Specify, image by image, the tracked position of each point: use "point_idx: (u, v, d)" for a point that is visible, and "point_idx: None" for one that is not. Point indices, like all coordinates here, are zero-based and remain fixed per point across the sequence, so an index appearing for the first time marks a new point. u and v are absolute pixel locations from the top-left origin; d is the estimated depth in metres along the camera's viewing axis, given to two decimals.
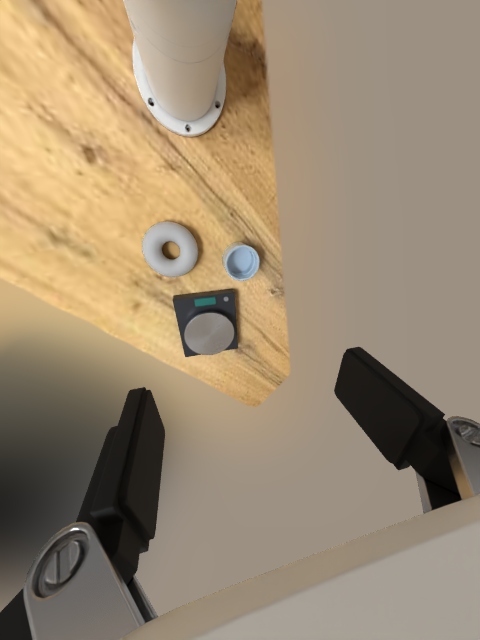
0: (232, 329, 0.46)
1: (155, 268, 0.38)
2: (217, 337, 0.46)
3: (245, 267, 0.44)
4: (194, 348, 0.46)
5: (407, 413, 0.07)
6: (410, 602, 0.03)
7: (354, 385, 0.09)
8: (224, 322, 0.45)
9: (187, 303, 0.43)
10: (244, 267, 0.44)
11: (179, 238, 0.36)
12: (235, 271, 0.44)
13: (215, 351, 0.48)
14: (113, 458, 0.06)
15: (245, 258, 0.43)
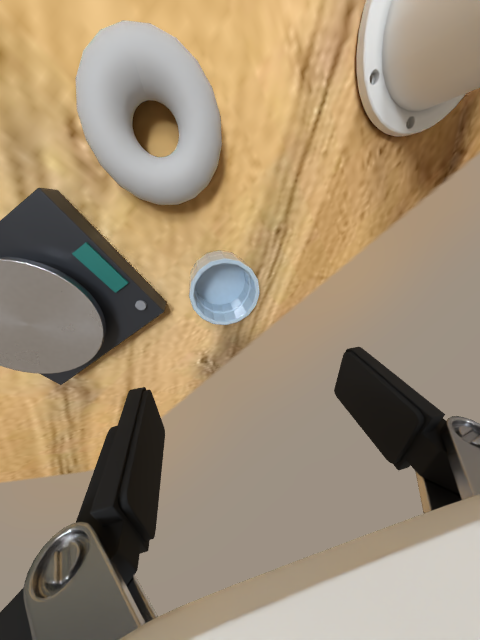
0: (88, 356, 0.20)
1: (82, 91, 0.13)
2: (39, 341, 0.18)
3: (215, 300, 0.24)
4: None
5: (407, 413, 0.07)
6: (410, 602, 0.03)
7: (354, 385, 0.09)
8: (89, 334, 0.19)
9: (63, 231, 0.17)
10: (214, 299, 0.24)
11: (197, 133, 0.15)
12: (198, 289, 0.23)
13: (2, 359, 0.18)
14: (113, 458, 0.06)
15: (228, 291, 0.24)
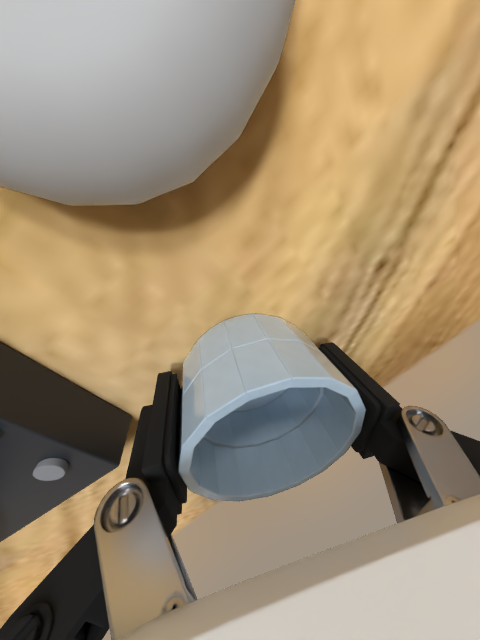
0: None
1: None
2: None
3: None
4: None
5: (367, 403, 0.07)
6: (410, 602, 0.03)
7: None
8: None
9: None
10: None
11: None
12: None
13: None
14: (153, 428, 0.07)
15: None
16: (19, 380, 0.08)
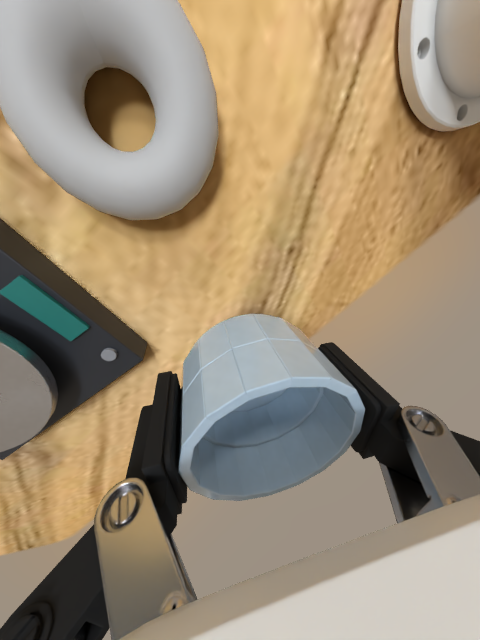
0: (32, 431, 0.14)
1: None
2: None
3: None
4: None
5: (367, 403, 0.07)
6: (410, 602, 0.03)
7: None
8: (30, 403, 0.13)
9: None
10: None
11: (181, 115, 0.10)
12: None
13: None
14: (153, 428, 0.07)
15: None
16: (94, 307, 0.15)
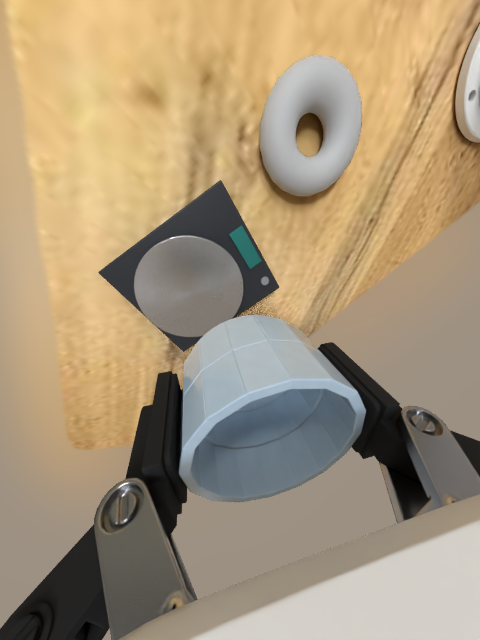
0: None
1: (277, 106, 0.17)
2: (193, 308, 0.22)
3: None
4: (142, 279, 0.20)
5: (367, 403, 0.07)
6: (410, 602, 0.03)
7: None
8: (231, 302, 0.23)
9: (227, 215, 0.21)
10: None
11: (347, 139, 0.19)
12: None
13: (162, 322, 0.22)
14: (153, 428, 0.07)
15: None
16: None
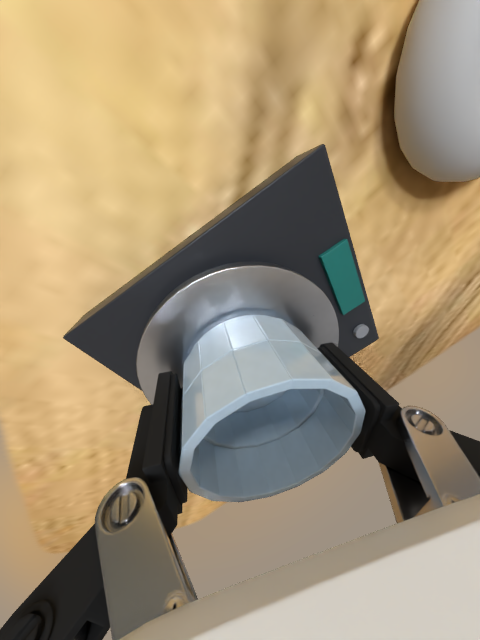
0: None
1: None
2: None
3: None
4: (154, 353, 0.09)
5: (366, 403, 0.07)
6: (410, 602, 0.03)
7: None
8: None
9: (322, 220, 0.10)
10: None
11: None
12: None
13: None
14: (154, 428, 0.07)
15: None
16: None
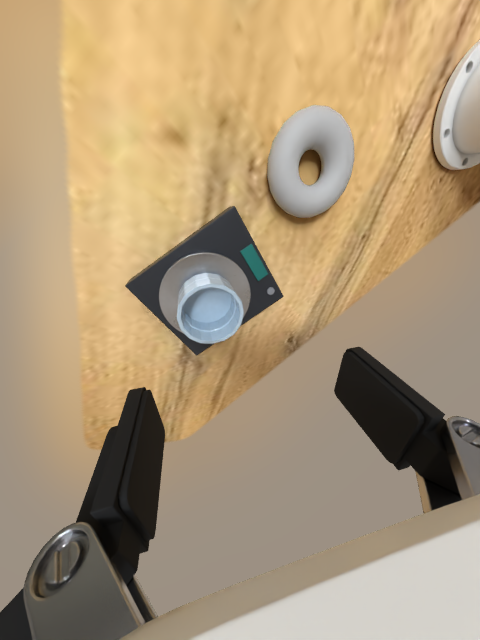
0: None
1: (283, 146, 0.20)
2: None
3: (203, 319, 0.25)
4: (166, 288, 0.23)
5: (407, 413, 0.07)
6: (410, 602, 0.03)
7: (354, 385, 0.09)
8: None
9: (239, 235, 0.23)
10: (201, 317, 0.25)
11: (342, 171, 0.22)
12: (186, 309, 0.24)
13: None
14: (113, 458, 0.06)
15: (215, 310, 0.25)
16: None
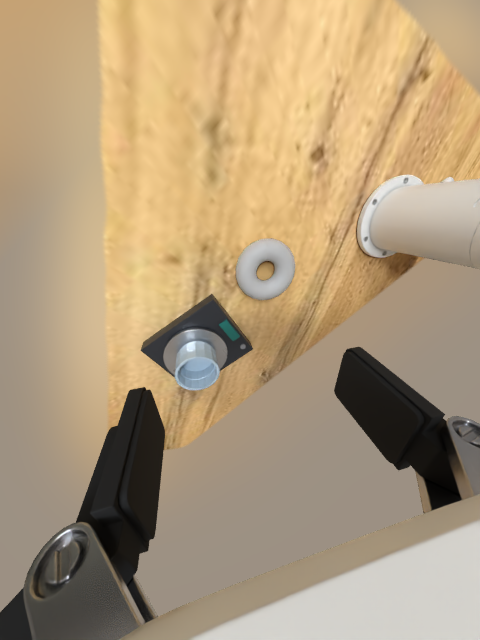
0: None
1: (243, 266, 0.31)
2: None
3: (194, 369, 0.36)
4: (168, 352, 0.34)
5: (407, 413, 0.07)
6: (410, 602, 0.03)
7: (354, 385, 0.09)
8: (220, 359, 0.37)
9: (217, 315, 0.34)
10: (193, 368, 0.36)
11: (286, 275, 0.33)
12: (182, 363, 0.35)
13: None
14: (113, 458, 0.06)
15: (202, 363, 0.36)
16: (237, 328, 0.38)
